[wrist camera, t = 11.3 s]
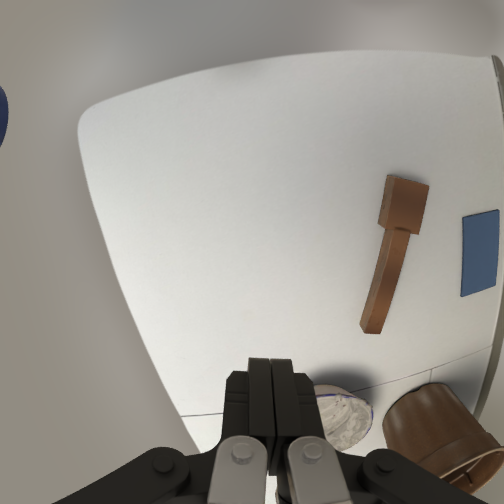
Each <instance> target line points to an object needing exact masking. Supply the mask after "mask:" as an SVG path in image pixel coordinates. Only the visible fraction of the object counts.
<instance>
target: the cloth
mask: <svg viewBox="0 0 504 504" xmlns="http://www.w3.org/2000/svg"><path fill="white" fill-rule="evenodd" d="M462 220H463V257H462V281H461V295H460V296H461V297H464V296H467V295H470V294H473V293H476V292H479V291H481V290H484V289H487V288H490V287H493V286H495V285H496V276H497V265H498V250H499V210H494V211H489V212H485V213H480V214H476V215H471V216H467V217H463V218H462Z"/></svg>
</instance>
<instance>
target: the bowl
mask: <svg viewBox="0 0 504 504" xmlns="http://www.w3.org/2000/svg"><path fill="white" fill-rule="evenodd" d="M314 389H315V396H316V398H317V404H318V407H319V411H320V416H321V420H322V424H323V429H324V433H325V437H326V440H327V441H328V442H329V443H330V444H331V445H332V446H333V447H334V449H336V450H338V451H339V452H341V451H343V450H346V449H348V448H350V447H352V446H354V445H355V444H357V443H358V442H359V441H360V440H362V439H363V438H364V437H365V435H366V434H367V433H368V431H369V430H370V428H371V425H372V421H373V410H372V406H371V405H370V404H369V402H367V401H366V400H365V399H362V398H359V397H356V396H354V395H353V394H351V393H349V392H347V391H345V390H344V389H342V388H339V387H337V386H334V385H326V384H323V385H315V386H314Z"/></svg>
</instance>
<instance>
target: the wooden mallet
mask: <svg viewBox="0 0 504 504" xmlns="http://www.w3.org/2000/svg"><path fill="white" fill-rule="evenodd" d="M428 190H429V186H428V185H425V184H422V183H418V182H414V181H410V180H406V179H402V178H398V177H394V176H389V175H387V179H386V184H385V190H384V195H383V200H382V205H381V210H380V215H379V220H378V224H379V225H380V226H382V227H383V228H385V233H384V237H383V241H382V246H381V250H380V254H379V258H378V262H377V265H376V269H375V273H374V277H373V280H372V284H371V287H370V291H369V294H368V298H367V301H366V305H365V308H364V311H363V314H362V318H361V321H360V326H361V328H362V330H363V332H364V333H366V334H380V333H381V331H382V328H383V325H384V322H385V319H386V316H387V313H388V310H389V307H390V304H391V301H392V298H393V295H394V291H395V288H396V285H397V282H398V278H399V275H400V271H401V268H402V264H403V261H404V257H405V253H406V249H407V245H408V242H409V238H410V233H412V234H417V235H419V231H420V227H421V223H422V219H423V214H424V210H425V205H426V200H427V195H428Z"/></svg>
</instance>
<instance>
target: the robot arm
mask: <svg viewBox="0 0 504 504" xmlns="http://www.w3.org/2000/svg"><path fill="white" fill-rule="evenodd" d="M267 472H269V476H277V489H276V492H275V497H276V503H277V504H488V503H486V502H484V501H482V500H480V499H478V498H476V497H474V496H472V495H470V494H468V493H467V492H465V491H463V490H461V489H459V488H457V487H455V486H454V485H452V484H450V483H448V482H446V481H445V480H443V479H441V478H439V477H438V476H436V475H434V474H432V473H431V472H429V471H427V470H426V469H424V468H422V467H421V466H419V465H417V464H416V463H414V462H412V461H411V460H409V459H407V458H406V457H404V456H403V455H401V454H399V453H398V452H396V451H394V450H391V449H384V448H383V449H376V450H373V451H371V452H370V453H369V454H367V456H366V457H362V456H356V455H350V454H345V453H342V452H339V451H338V450H336V449H334V447H333V446H332V445H331V444H330V443H329V442H328V441H327V440H326V437H325V433H324V429H323V424H322V420H321V416H320V411H319V407H318V404H317V398H316V396H315V389H314V385H313V382H312V381H311V380H310V379H309V377H308V376H307V375H306V374H305V373H294V372H293V366H292V361H291V359H270V360H269V359H268V358H249V360H248V371H233V372H232V373H231V374H230V376H229V377H228V379H227V380H226V390H225V402H224V412H223V424H222V435H221V439H220V441H219V443H218V444H217V445H216V446H215V447H214V448H213V449H211V450H209V451H207V452H205V453H201V454H196V455H189V456H184V455H183V454H182V453H181V452H179V451H178V450H176V449H173V448H169V447H157V448H153V449H150V450H148V451H147V452H145V453H143V454H142V455H140V456H138V457H137V458H135V459H133V460H132V461H130V462H129V463H127V464H125V465H123V466H122V467H120V468H118V469H117V470H115V471H113V472H111V473H110V474H108V475H106V476H104V477H103V478H101V479H99V480H97V481H95V482H93V483H92V484H90V485H88V486H86V487H84V488H82V489H80V490H79V491H77V492H75V493H73V494H71V495H69V496H67V497H65V498H63V499H61V500H59V501H57V502H55V503H52V504H265V492H266V476H267Z"/></svg>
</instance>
